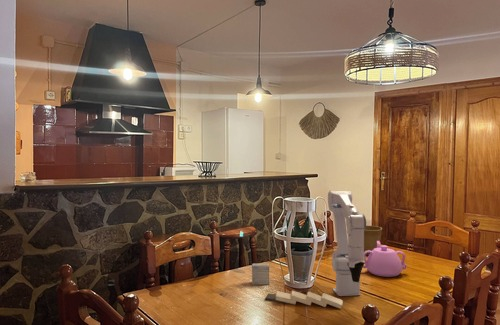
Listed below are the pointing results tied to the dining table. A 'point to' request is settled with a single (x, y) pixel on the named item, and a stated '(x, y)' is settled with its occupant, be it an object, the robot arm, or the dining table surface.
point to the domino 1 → (272, 298)
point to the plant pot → (371, 237)
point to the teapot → (384, 261)
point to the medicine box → (260, 274)
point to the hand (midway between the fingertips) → (355, 281)
